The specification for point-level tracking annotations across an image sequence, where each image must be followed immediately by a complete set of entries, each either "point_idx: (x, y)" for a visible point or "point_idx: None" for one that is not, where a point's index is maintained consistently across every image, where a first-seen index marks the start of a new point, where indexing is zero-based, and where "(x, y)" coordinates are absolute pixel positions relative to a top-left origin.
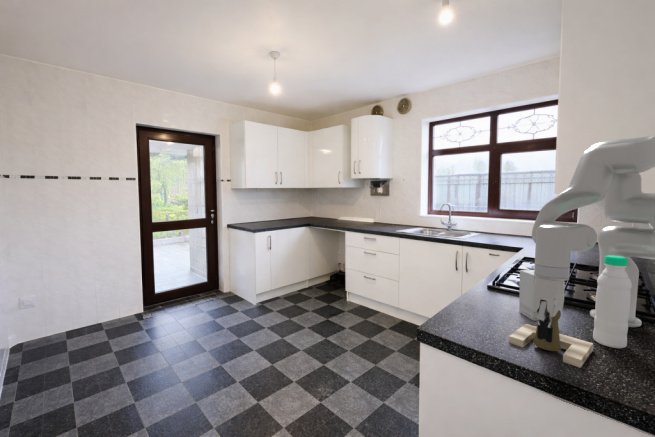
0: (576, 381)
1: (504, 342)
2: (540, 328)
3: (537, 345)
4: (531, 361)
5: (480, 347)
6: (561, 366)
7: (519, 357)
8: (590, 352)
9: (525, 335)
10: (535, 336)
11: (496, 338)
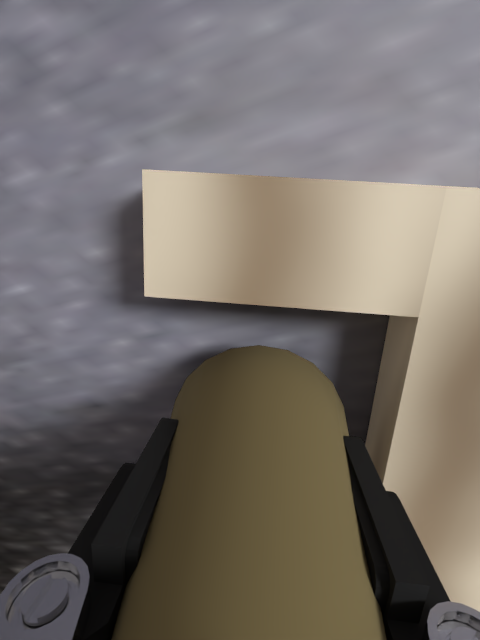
0: (12, 548)
1: (143, 150)
2: (77, 539)
3: (182, 386)
4: (18, 372)
5: None
6: (102, 492)
7: (3, 308)
8: None
9: (278, 282)
10: (210, 390)
11: (166, 62)
